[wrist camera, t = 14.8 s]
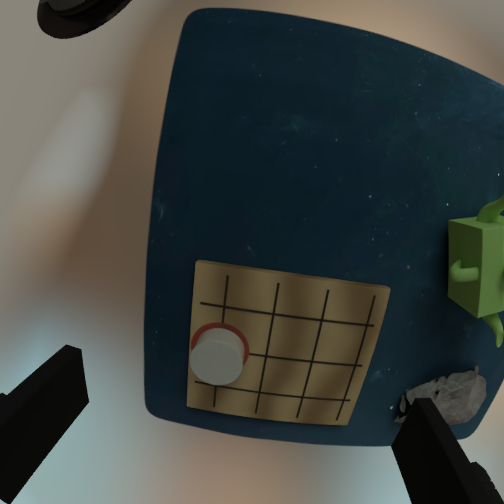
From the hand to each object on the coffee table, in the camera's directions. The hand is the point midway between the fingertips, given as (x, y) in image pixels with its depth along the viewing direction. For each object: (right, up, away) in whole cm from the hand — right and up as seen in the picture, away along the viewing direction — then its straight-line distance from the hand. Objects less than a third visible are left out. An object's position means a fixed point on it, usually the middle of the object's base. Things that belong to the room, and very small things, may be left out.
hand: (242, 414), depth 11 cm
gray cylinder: (-4, -7, +29) cm, 30 cm away
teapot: (+30, +6, +26) cm, 40 cm away
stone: (+31, -16, +31) cm, 47 cm away
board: (+4, -7, +31) cm, 32 cm away
